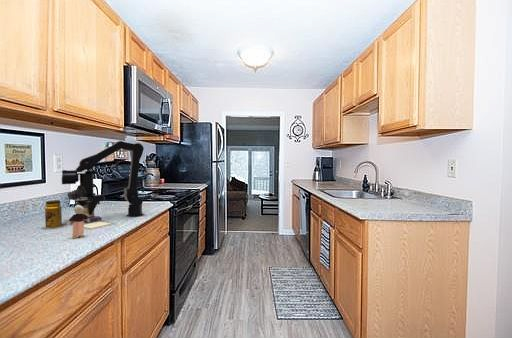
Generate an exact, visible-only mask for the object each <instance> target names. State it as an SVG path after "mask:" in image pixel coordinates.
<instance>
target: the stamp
mask: <svg viewBox="0 0 512 338" xmlns="http://www.w3.org/2000/svg"><path fill="white" fill-rule="evenodd" d="M83 208H84V210H83V211H82V213H81V214H85V215H87V216H88V218H92V217H94V216H95V210H94V211H93V213H92V215H89V211H88V205H84V207H83Z"/></svg>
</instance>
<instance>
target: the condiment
mask: <svg viewBox="0 0 512 338" xmlns="http://www.w3.org/2000/svg"><path fill="white" fill-rule="evenodd" d="M45 206H46V207H45V208H44V213H45V214H44V215H45V216H44V217H45V218H44V220H45V222H44V223H45V224H44V225H45V227H42V230H45V229H58V228H59V229H60V228H62V227H65V226H67V223H68V222H67V223H63V222H62V221H63V219H62V216H63V214H62V205H61V200H59V199H55V200H53V199H51V200H47V201H46V202H45Z"/></svg>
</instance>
